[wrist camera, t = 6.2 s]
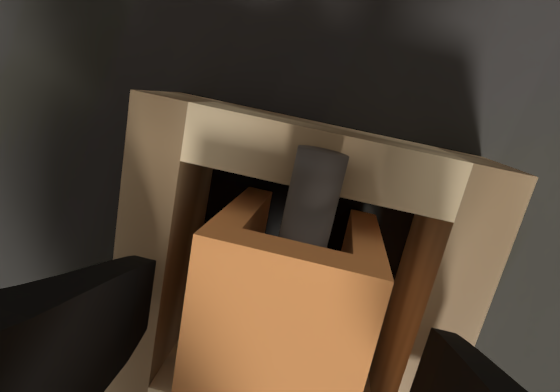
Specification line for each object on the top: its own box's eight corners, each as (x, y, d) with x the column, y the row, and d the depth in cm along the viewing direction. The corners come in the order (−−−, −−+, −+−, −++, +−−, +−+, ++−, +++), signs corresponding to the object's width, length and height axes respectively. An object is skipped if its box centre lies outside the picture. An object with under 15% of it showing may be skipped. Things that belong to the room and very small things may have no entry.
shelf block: (146, 347, 16) (73, 447, 11) (180, 92, 13) (104, 88, 9) (396, 412, 15) (425, 545, 11) (482, 156, 13) (568, 188, 8)
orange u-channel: (226, 318, 14) (166, 426, 10) (249, 186, 13) (193, 233, 8) (341, 348, 14) (338, 478, 9) (375, 214, 13) (394, 282, 8)
